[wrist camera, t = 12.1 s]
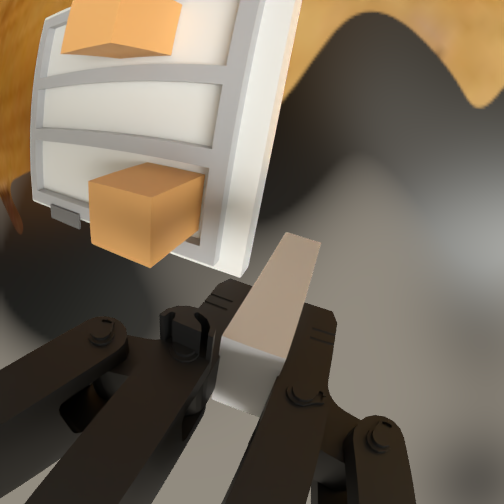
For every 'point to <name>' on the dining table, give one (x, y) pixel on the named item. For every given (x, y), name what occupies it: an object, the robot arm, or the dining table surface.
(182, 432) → the robot arm
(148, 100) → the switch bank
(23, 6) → the dining table surface
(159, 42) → the orange block
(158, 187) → the tab
